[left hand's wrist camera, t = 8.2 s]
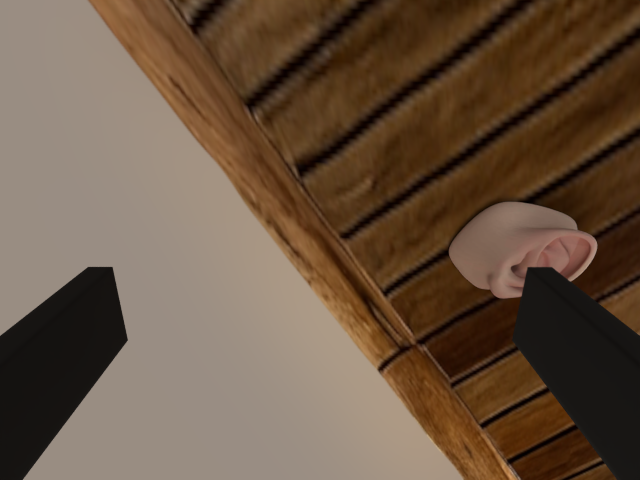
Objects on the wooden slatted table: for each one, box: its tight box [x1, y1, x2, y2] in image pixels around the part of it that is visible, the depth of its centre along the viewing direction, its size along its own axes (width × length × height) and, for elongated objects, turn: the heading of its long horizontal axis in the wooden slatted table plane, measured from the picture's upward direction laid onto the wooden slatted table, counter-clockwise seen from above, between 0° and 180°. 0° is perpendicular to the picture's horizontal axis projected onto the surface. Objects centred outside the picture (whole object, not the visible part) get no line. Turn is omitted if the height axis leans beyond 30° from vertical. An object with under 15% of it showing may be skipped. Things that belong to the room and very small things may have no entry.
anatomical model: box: [449, 202, 597, 298], centre depth 43 cm, size 13×4×12 cm
